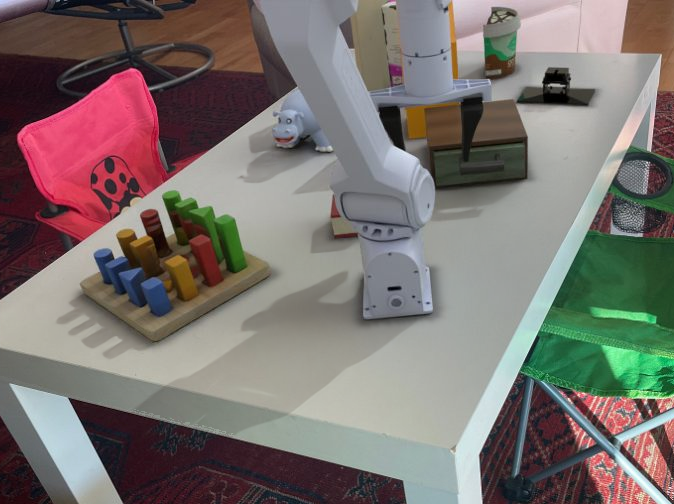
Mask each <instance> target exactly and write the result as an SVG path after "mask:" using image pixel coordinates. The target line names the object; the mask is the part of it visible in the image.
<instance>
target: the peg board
mask: <svg viewBox="0 0 674 504" xmlns="http://www.w3.org/2000/svg"><path fill="white" fill-rule="evenodd" d="M161 198H162V201H163V203H164V207H165V209H166V212H167V215H168V218H169V221H170V224H171V227H172V229H173V232H174V233H172V234H170V235H169V236H167V237H166V233H165V230H164V226H163V224H162V220H161V217H160V214H159V210H157V209H156V208H149V209H145V210H143V211H142V212H141V213H140V214H139V217H140V220H141V223H142V225H143V228H144V231H145V234H146V235H143V236H141V237H140V238H138V236H137V233H136V232H135V230H134V229H133V228H124V229H120V230H119V231H117V232H116V234H115V236H116V239H117V242H118V244H119V247H120V250H121V251H122V254H123V255H121V256H119V257H116V258H115V255H114V253H113V251H112V249H111V248H108V247H104V248H100V249H97V250H96V251H94V252H93V258H94V261H95V264H96V265H97V267H98V270H99V271H97V272H96V273H95V274H94V273H93V274H92V275H90V276H89V277H87V278H84V279H83V280H81V281H80V282H79V286H80V288H81V291H82V292H83V293H84V295H86V296H88V297H89V298H90V299H92V300H93V301H94V302H95V303H97V304H99V305H100V306H101V307H103V308H104V309H106V310H107V311H108V312H110V313H112V314H113V315H114V316H115V317H117V318H119V319H120V320H122V321H123V322H125V323H126V324H127V325H129V326H130V327H132V328H133V329H134V330H135V331H137V332H139V333H140V334H142V335H143V336H144V337H146V338H147V339H148V340H150V341H152V342H158V341H160V340H162V339H164V338H166V337H168V336H170V335H171V334H173V333H174V332H176V331H177V330H180V329H181V328H182V327H184V326H186V325H188V324H190V323H191V322H193V321H195V320H197V319H199V318H200V317H202V316H204V315H205V314H207V313H209V312H210V311H212V310H213V309H215V308H217V307H218V306H221V305H222V304H224V303H225V302H227V301H229V300H230V299H233V298H234V297H235V296H238V295H239V294H240V293H242V292H244V291H246V290H248V289H249V288H251V287H253V286H254V285H255V284H256V285H257V284H258V283H259V282H261V281H263V280H264V279H267V278H268V277H269V276H271V274H272V273H271V268H270V264H269V262H267V261H266V260H263V259H262V258H259V257H257V256H256V255H253V254H251V253H250V252H247V251H245V250H244V248H243V245H242V240H241V237H240V233H239V228H238V225H237V221H236V218H235V217H233V216H232V215H230V214H227V213H226V214H222V215H220V216H218V217H216V214H215V211H214V207H213V206H212V205H207V206H203V207H199V205H198V201H197V200H196V198H193V197H187V198H185V199H182V197H181V194H180V192H179V191H178V190H174V189H173V190H168V191H166V192H163V194H162V195H161Z"/></svg>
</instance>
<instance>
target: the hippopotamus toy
mask: <svg viewBox="0 0 674 504" xmlns="http://www.w3.org/2000/svg"><path fill="white" fill-rule="evenodd" d="M272 116H273V117H274V118H276V117H278V118H277V122H278V124H276V125H275V126H274V127H273V128H272V129H271V130H272V133H271V135H272V136H273V140H274V142H275V143H277V144H276V147H278V148H283V149H289V148H290V149H292V148H294V147H296V146H297V145H298V144H299V143H300V140H301V139H306V138H307V137H308V136H309V137H311V139H312V140H313V142H314V143H315V145H316V146H315V149H314V150H315V151H319V152H321V153H325V152H327V153H331V152H334V151H333V149H332V147H331V145H330V143H329V142H328V140H327V138H326V136H325V135H324V133H323V131H322V129H321V127H320V126H319V124H318V122H317V120H316V118H315V117H314V115H313V113H312V111H311V109H310V108H309V106H308V104H307V102H306V101H305V99H304V97H303V95H302V93H301V92H300V90H299V88H298V89H296V90H294V91H293V92H291V93H290V94H289V95H288V96H286V97H285V99H284V101H283V102H282V104H281V106H280V111H279V110H276V109H275V110H273V111H272Z"/></svg>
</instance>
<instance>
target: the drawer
mask: <svg viewBox="0 0 674 504" xmlns="http://www.w3.org/2000/svg"><path fill="white" fill-rule="evenodd" d="M434 163H435V176H436V186H442V185H452V184H462V183H471V182H481V181H491V180H501V179H511V178H521V177H525V146H524V143H518V142H511V143H501V144H491V145H481V146H472V147H471V148H470V154H469V162H463V157H462V148H452V149H442V150H436V152H434Z"/></svg>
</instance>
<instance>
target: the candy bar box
mask: <svg viewBox="0 0 674 504" xmlns="http://www.w3.org/2000/svg"><path fill="white" fill-rule="evenodd" d="M381 9H382V18H383V26H384V33H385V42H386V51H387V59H388V67H389V75H390V84H391V87H395V86H399V85H403V75H402V66H401V57H400V45H399V33H398V22H397V12H396V0H389V1H387V2H386V3H385V4H384V5H383V6H382V7H381Z"/></svg>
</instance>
